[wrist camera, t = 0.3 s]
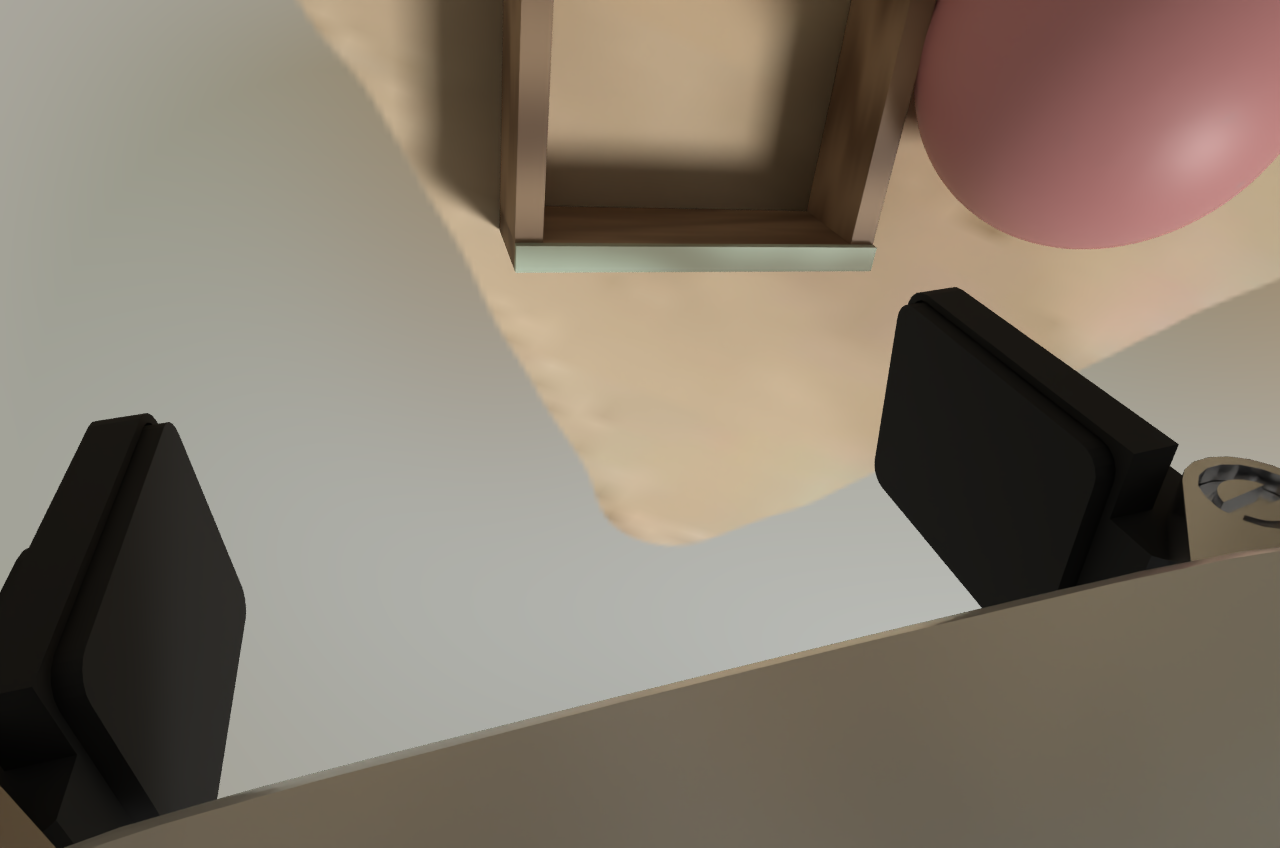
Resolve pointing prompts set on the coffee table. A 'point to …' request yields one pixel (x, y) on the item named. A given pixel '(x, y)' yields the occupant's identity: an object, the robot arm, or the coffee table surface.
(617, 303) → the coffee table surface
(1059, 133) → the balloon
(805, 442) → the coffee table surface
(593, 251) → the open wooden box
